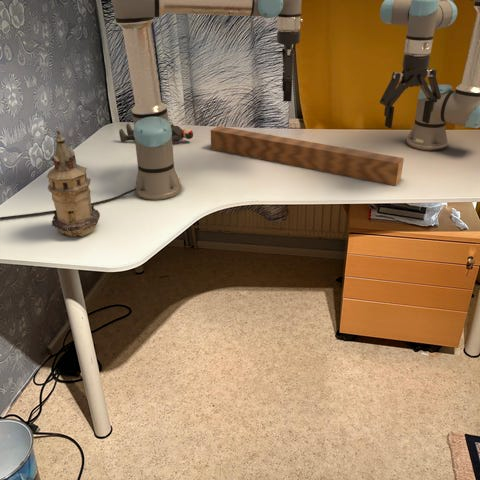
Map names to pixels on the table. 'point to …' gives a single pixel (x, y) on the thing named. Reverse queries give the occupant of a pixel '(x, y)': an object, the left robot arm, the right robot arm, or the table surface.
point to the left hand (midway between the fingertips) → (286, 96)
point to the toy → (176, 134)
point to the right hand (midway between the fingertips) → (407, 124)
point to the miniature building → (70, 193)
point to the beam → (309, 155)
